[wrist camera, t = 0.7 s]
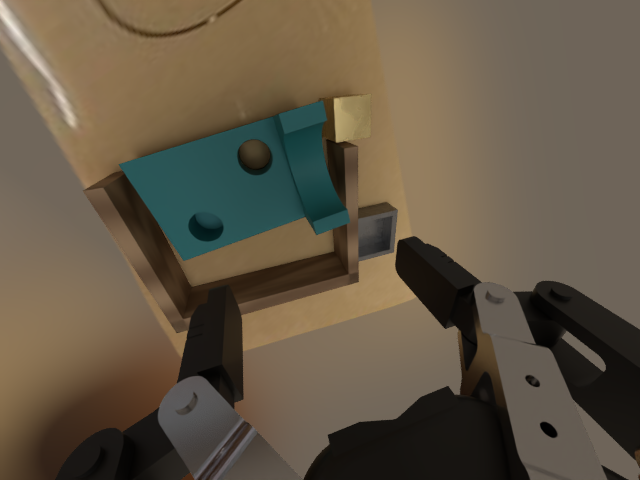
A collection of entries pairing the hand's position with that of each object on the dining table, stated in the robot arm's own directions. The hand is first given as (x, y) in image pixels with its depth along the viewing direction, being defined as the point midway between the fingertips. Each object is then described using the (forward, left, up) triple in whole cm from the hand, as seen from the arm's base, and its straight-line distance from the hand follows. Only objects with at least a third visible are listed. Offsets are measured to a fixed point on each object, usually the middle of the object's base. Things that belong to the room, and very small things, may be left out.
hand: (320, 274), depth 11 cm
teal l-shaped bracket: (+1, -4, -22) cm, 22 cm away
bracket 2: (+8, -4, -22) cm, 23 cm away
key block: (-4, +9, -22) cm, 24 cm away
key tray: (+12, +13, -22) cm, 28 cm away
